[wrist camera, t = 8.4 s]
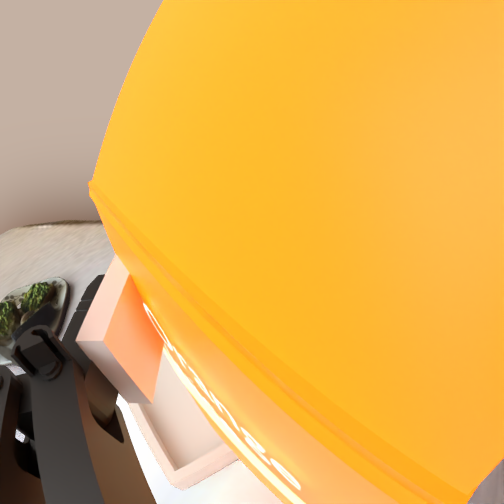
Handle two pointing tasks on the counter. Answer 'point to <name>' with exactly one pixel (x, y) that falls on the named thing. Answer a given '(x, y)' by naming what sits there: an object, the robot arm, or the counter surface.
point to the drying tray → (180, 432)
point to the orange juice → (323, 235)
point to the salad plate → (32, 312)
